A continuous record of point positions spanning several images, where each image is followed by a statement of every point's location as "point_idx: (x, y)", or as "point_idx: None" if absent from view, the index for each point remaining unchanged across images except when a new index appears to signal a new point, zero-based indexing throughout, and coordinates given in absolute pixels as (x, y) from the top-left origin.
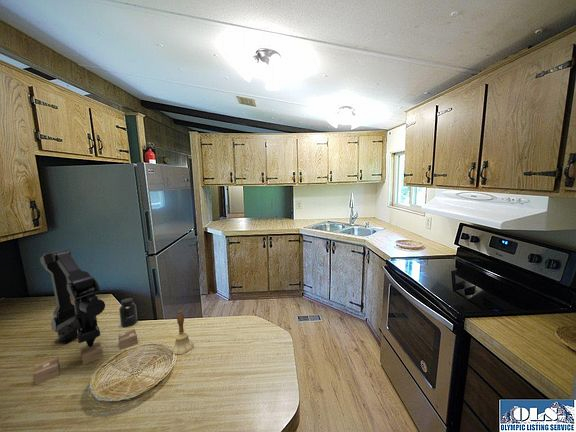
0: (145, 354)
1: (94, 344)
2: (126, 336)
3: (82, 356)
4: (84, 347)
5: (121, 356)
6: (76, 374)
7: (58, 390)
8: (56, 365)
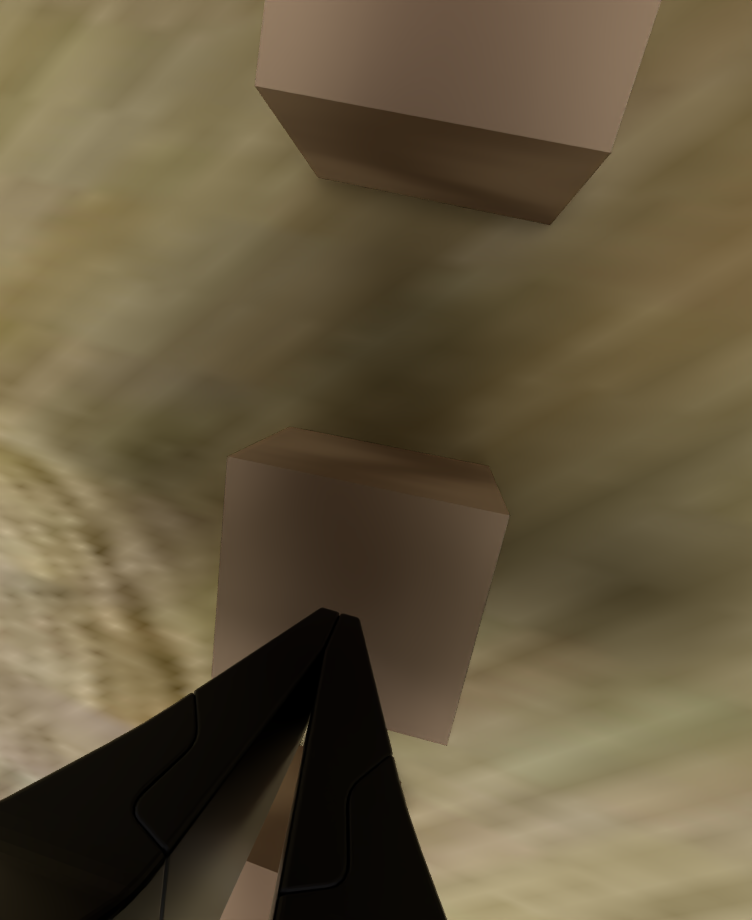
0: (7, 769)
1: (413, 674)
2: (234, 915)
3: (234, 457)
4: (469, 565)
5: (127, 678)
6: (160, 325)
7: (8, 117)
8: (267, 69)
